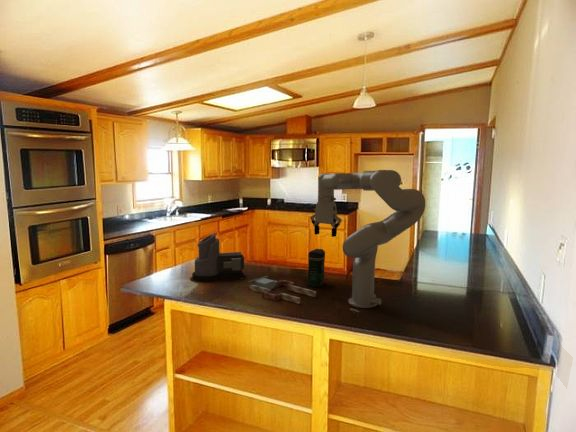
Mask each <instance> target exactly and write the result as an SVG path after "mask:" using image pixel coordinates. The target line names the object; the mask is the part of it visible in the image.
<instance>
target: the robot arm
mask: <svg viewBox="0 0 576 432" xmlns="http://www.w3.org/2000/svg"><path fill="white" fill-rule="evenodd" d="M317 183H318V185H317V202H316V204H315V205H316V206H315V211H314V214H313V215H311V216H310V217H309V218H310V221H311V223H312V225H313V227H314V231H313V232H314V235H315V236H316V235H320V224H324V225H325V224H327V225H330V226H331V238H334V237H337V233H338V230H337V229H338V228H339V226H340V225H341V223H342V221H343V219H342V218H340V217H339V216H338V210H337V205H336V202H335V201H336V200H337V199H336V197H335V190H336V191H340V190H363V191H364V192H365V191H367V192H368V191H370V192H371V191H374V192H375V193H376V194H377V196H379V197H380V198H381V199H382V201H384V202H385V204H386V206H388V207H389V208H390V209H392V210H393V211H395V212H392V213H391V214H390V215H388V216H387V217H385V218H384V219H382V220H380V221H375V222H371V223H367V224H365V225H363V226H361V227H360V228H358V229H357V230H356V231H354V232H353V233H351V234H350V235H348V237H346V238H344V241H343V242H342V252H343V254H344V255H345V256H346V257H347V258H350V259H353V263H352V282H351V283H352V285H351V286H352V287H351V289H352V290H351V297H349V299H347V301H348V304H349V305H350V306H352V307H354V308H355V307H356V308H361V309H370V308H375V307H376V306H377V305H379V306H380V305H382V298H379V297H378V298H377V295H376V294H375V292H374V291H375V276H376V275H375V270H376V269H375V268H376V258H377V253H378V247H379V246H382V245H384V244H387V243H389V242H390V241H392V240H393V239H395V238H396V237H397V236H399V235H401V234H403V232H405V231H407V230H408V229H409V228H411V227H413V226H414V225H415V224H416V223H417V222H419V220H420V219H421V218H422V217H423V215H424V213H425V210H426V198H425V195H424V194H423V193H422V192H421V191H420V190H418V189H415V188H401V187H400V185H401V183H402V176H401V174H400V173H399V172H397V171H396V170H393V169H379V170H363V171H362V172H350V173H349V172H345V173H344V172H336V173H335V172H334V173H319V174H318V178H317Z"/></svg>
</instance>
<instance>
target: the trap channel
mask: <svg viewBox="0 0 576 432" xmlns="http://www.w3.org/2000/svg"><path fill="white" fill-rule="evenodd" d="M263 278H266V279H269V275H265V276H262V277H258V278H255V279H252V280H248V281H247V283H248V285H247V286H248V287H247V289H248V290H250V291H253V292H255V293H256V292H257V293H260V294H262V298H263V299H267V300H271V301H273V302H279V301H281V300H283V301H287V302H291V303H293V304H297V305H300V304H301V297H298V296H295V295H292V294H289V293H284V292H280V293H276V294H274V293H273V289H267V288H263V287H260V286H256V285H255V281H256V280H259V279H263ZM282 286H283V287H286V290H288V291H291V292H295V293H298V294H302V295H306V296H309V297H312V298H316V297H317V291H316V290H312V289H309V288H305V287H301V286H296V282H293V281H289V280H287V279H286V280H284V279H281V280H274V288H275V287H276V288H279V287H282Z"/></svg>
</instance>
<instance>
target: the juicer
mask: <svg viewBox="0 0 576 432" xmlns="http://www.w3.org/2000/svg"><path fill="white" fill-rule="evenodd" d="M216 235H217V234H216V233H212V234H209V235H207V236H206V237H204V238H203V239H201V240H200V241H199V242H198V243H197V247H198V257H196V258H195V260H194V272H192V276H191V277H190V278H189V281H190V282H193V283H215V282H219V281H231V280H230V279H234V280H242V279H241V278H247V276H246V275H245V273H244V272H243V270H244V269H245V257H244V255H243V254H242V252H241V251H236V252H220V238H216V237H217V236H216Z"/></svg>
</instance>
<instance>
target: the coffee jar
mask: <svg viewBox="0 0 576 432" xmlns="http://www.w3.org/2000/svg"><path fill="white" fill-rule="evenodd" d="M307 256H308V258H307V259H308V266H307V285H308V286H310V287H313V288H315V287H321V286H323V285H324V284H325V260H326V251H325V250H324V249H322V248H315V249H313V250H310V251H308V253H307Z"/></svg>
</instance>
